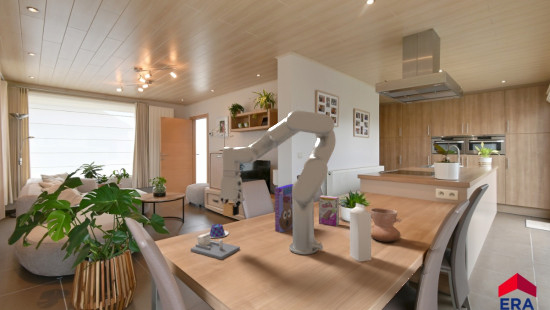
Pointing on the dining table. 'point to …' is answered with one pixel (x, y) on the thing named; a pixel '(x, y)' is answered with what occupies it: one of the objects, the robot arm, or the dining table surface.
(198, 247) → the base
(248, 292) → the dining table surface
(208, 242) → the cream square block
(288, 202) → the cereal box
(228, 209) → the orange hollow cube
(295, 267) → the dining table surface
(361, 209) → the milk
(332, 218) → the candy bar box
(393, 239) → the ceramic jug
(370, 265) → the dining table surface
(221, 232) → the pudding
